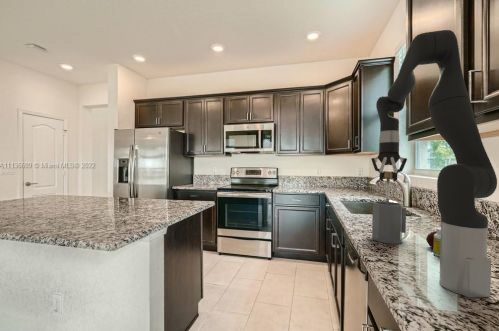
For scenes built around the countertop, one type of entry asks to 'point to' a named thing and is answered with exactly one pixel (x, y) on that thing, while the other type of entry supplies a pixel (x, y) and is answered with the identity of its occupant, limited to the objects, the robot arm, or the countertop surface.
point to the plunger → (388, 183)
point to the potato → (431, 239)
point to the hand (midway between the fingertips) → (388, 181)
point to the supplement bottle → (437, 242)
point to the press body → (388, 222)
